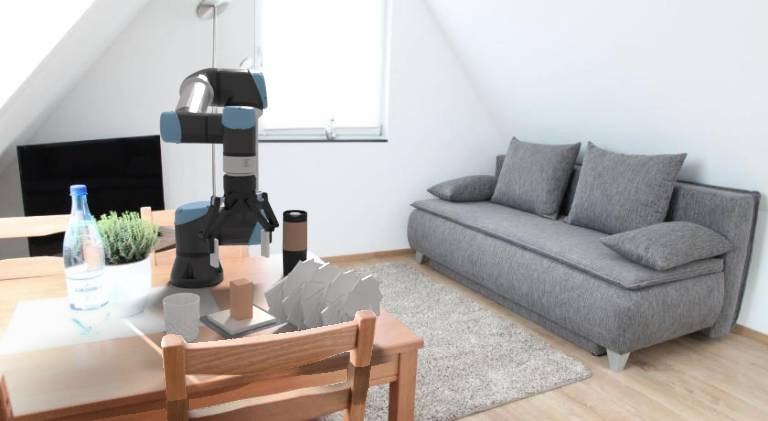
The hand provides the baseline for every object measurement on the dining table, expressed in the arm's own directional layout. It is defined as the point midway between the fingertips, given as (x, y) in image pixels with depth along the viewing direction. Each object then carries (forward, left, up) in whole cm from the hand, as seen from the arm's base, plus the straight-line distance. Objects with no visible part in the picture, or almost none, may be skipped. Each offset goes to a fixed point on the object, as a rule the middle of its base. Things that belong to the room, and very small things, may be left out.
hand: (240, 261), depth 134 cm
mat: (0, 0, -16) cm, 16 cm away
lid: (0, 0, -15) cm, 15 cm away
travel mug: (-23, +32, -16) cm, 43 cm away
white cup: (0, -15, -16) cm, 22 cm away
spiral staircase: (+18, +12, -16) cm, 27 cm away
